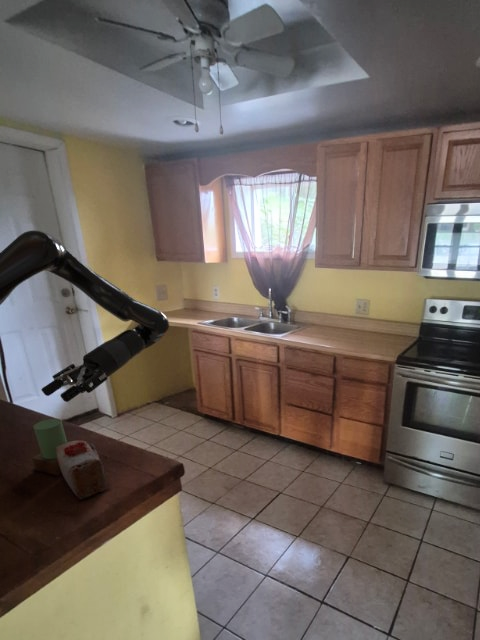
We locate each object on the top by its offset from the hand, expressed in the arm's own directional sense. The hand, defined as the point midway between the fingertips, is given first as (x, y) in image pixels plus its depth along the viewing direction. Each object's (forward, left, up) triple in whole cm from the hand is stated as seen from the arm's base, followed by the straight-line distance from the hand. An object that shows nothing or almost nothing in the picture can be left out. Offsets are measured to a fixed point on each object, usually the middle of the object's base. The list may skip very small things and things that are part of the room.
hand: (53, 395), depth 87 cm
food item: (+3, -13, -18) cm, 22 cm away
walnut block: (-2, -2, -17) cm, 18 cm away
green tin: (-2, -2, -14) cm, 14 cm away
